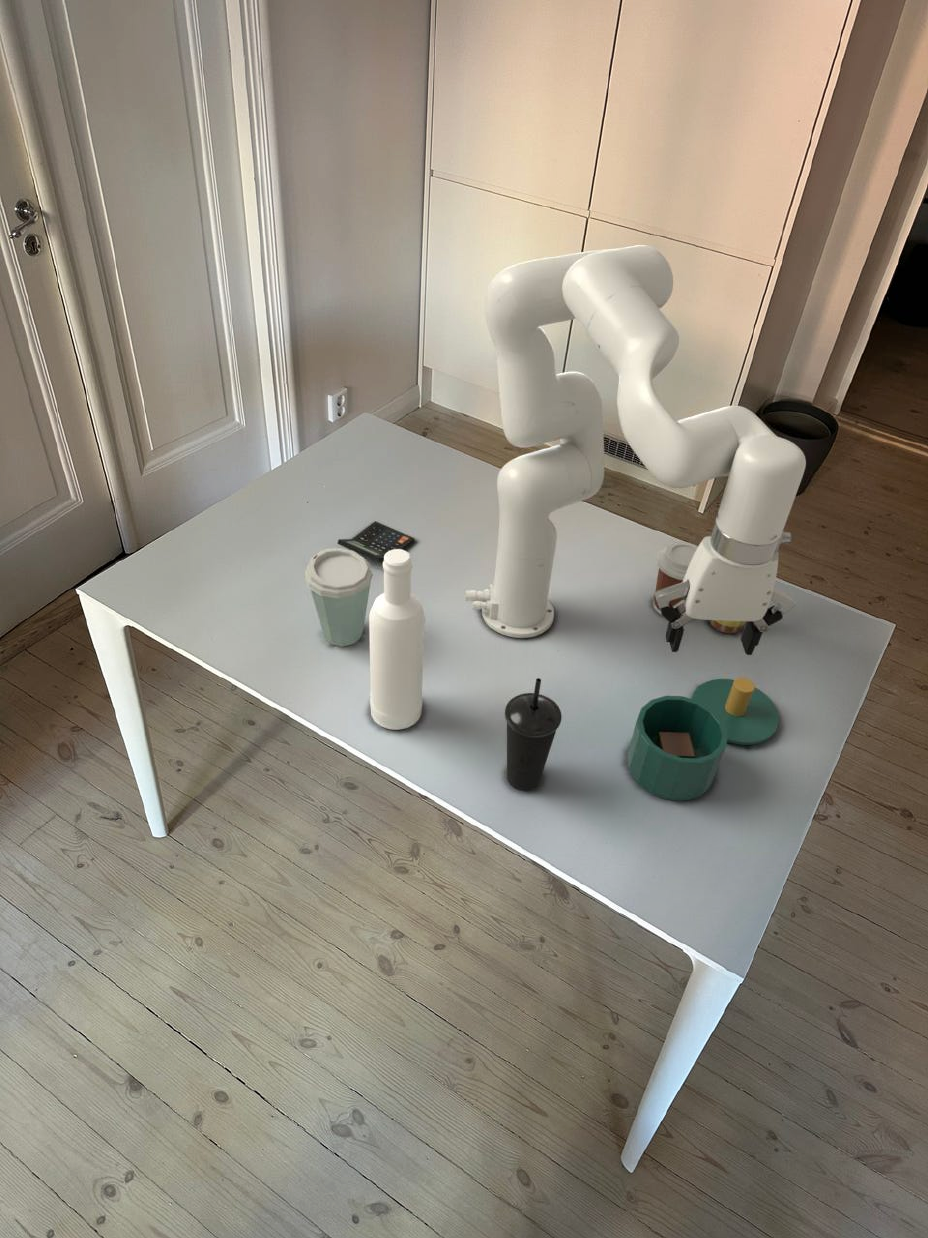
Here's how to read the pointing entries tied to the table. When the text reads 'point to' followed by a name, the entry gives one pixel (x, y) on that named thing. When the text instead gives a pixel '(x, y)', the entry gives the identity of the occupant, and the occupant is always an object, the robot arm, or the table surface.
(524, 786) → the drinking cup
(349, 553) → the disposable coffee cup
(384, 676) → the bottle
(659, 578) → the coffee cup
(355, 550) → the calculator
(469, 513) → the table surface
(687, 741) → the block
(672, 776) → the tin
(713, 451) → the robot arm
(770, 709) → the tin lid
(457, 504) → the table surface
